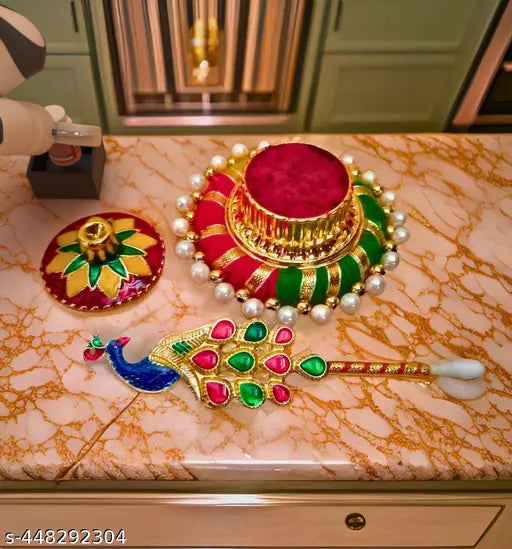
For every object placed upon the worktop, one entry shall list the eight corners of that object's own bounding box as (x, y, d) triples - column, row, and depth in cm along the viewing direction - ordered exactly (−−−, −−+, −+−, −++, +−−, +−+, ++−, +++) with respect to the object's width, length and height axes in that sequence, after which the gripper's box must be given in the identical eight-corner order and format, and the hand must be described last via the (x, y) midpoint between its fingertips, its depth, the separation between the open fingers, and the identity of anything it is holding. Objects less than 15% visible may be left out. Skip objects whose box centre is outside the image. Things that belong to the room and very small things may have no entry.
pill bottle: (85, 162, 115) (72, 120, 106) (54, 170, 114) (38, 128, 104) (77, 141, 118) (64, 98, 109) (47, 149, 117) (31, 106, 107)
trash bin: (36, 198, 117) (25, 174, 111) (47, 153, 124) (37, 127, 118) (99, 199, 118) (91, 175, 111) (106, 154, 124) (100, 128, 118)
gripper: (88, 117, 97) (113, 121, 110) (-31, 103, 97) (9, 108, 111) (86, 155, 98) (111, 154, 111) (-31, 141, 99) (8, 142, 112)
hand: (59, 131), depth 111 cm, fingers closed on pill bottle, 6 cm apart
